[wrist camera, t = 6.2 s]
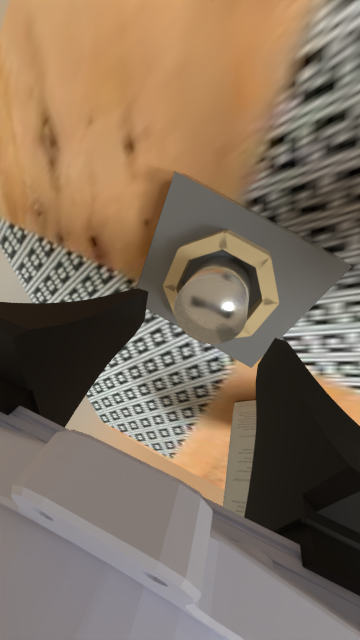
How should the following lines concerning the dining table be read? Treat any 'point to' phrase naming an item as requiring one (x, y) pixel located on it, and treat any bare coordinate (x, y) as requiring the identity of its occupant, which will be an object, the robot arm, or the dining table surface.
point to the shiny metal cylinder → (214, 301)
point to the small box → (240, 456)
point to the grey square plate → (248, 248)
